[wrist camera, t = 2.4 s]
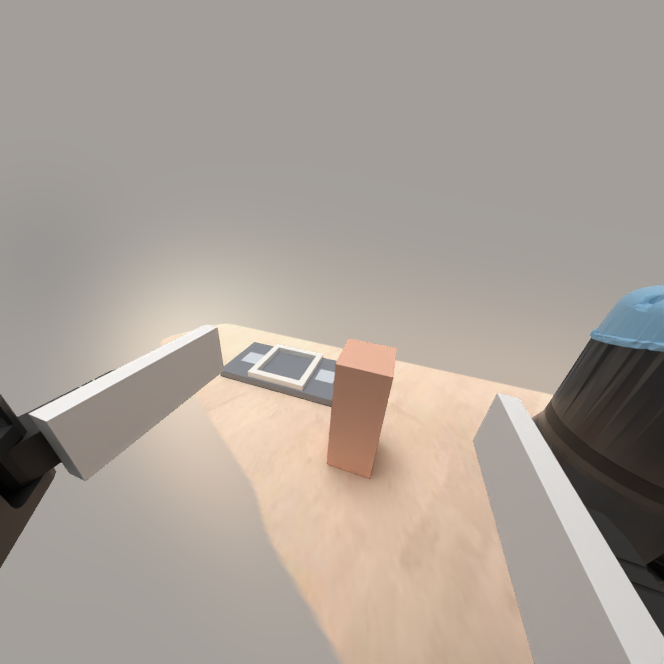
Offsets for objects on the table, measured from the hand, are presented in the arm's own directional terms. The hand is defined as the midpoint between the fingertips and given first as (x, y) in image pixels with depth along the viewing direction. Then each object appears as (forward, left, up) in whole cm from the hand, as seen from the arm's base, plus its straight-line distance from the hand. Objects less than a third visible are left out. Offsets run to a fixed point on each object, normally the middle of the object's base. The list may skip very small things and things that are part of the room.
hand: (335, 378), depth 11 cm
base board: (+24, -10, -19) cm, 32 cm away
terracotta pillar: (+6, -9, -19) cm, 22 cm away
